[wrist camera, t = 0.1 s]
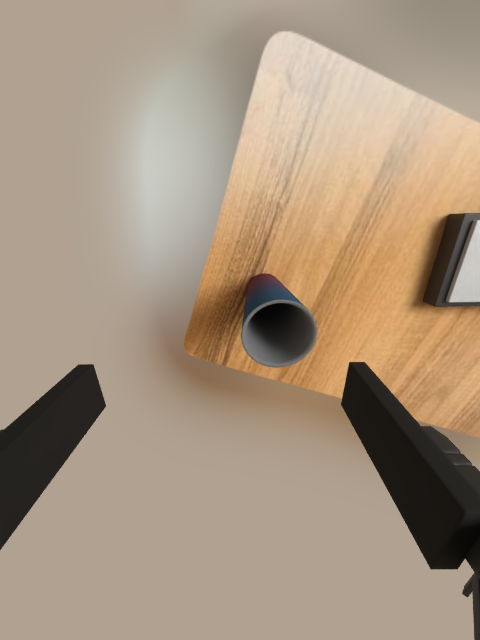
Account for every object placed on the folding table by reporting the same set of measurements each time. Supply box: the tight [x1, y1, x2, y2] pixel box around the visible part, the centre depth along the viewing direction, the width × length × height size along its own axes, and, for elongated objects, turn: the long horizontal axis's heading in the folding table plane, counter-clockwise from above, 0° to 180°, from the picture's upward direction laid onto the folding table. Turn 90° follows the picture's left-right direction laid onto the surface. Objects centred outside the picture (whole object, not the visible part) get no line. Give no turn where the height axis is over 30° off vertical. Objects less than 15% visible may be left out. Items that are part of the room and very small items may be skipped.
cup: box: [241, 274, 317, 368], centre depth 28 cm, size 7×7×15 cm
